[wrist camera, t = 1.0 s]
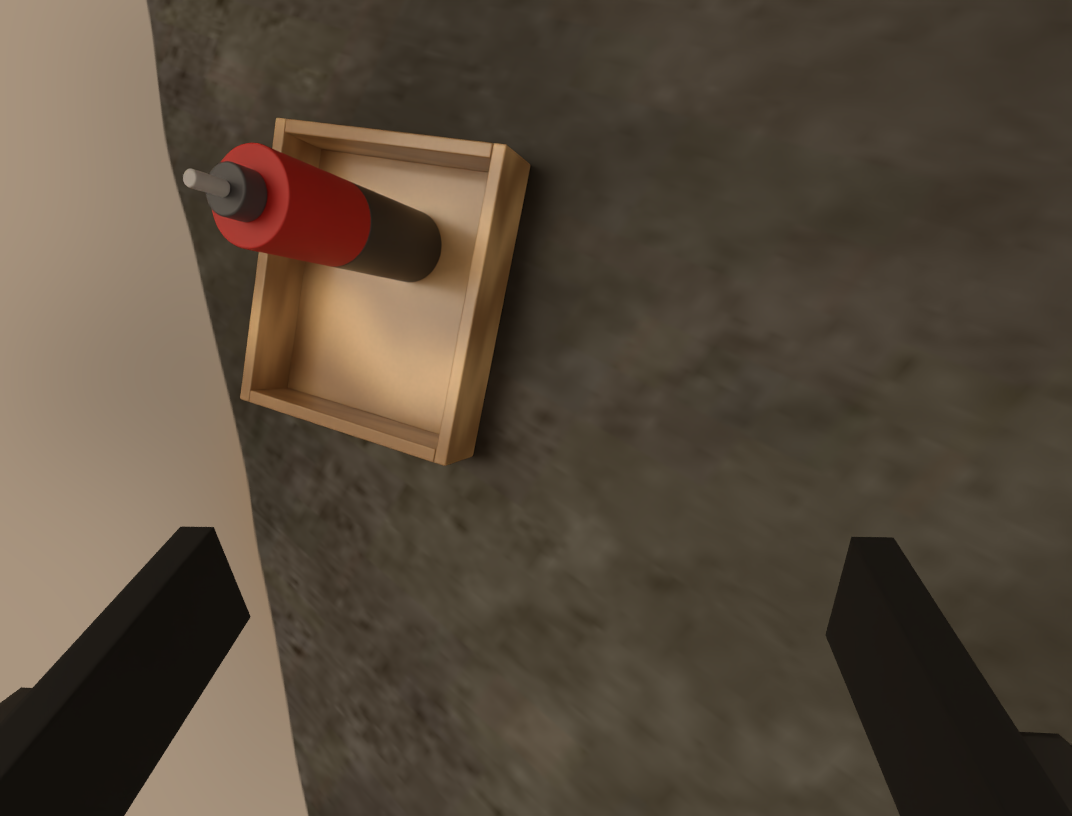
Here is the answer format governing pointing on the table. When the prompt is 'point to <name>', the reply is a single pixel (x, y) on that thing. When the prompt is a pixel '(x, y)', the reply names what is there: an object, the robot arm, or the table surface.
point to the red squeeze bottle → (315, 216)
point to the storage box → (392, 297)
